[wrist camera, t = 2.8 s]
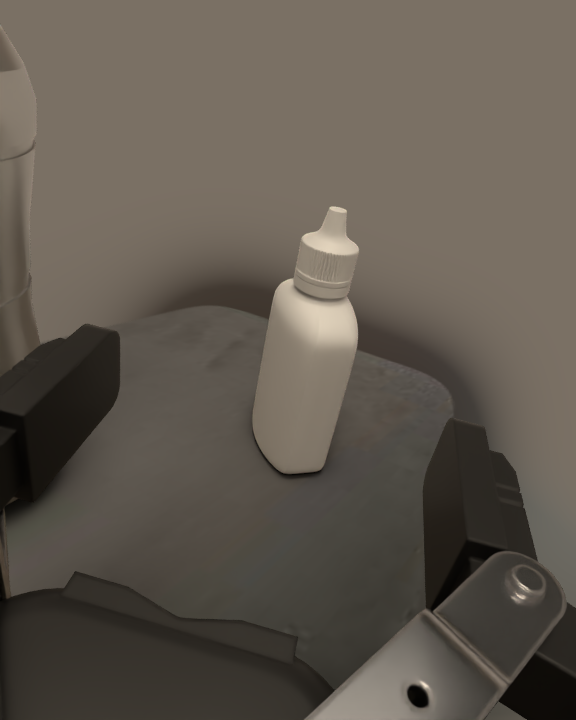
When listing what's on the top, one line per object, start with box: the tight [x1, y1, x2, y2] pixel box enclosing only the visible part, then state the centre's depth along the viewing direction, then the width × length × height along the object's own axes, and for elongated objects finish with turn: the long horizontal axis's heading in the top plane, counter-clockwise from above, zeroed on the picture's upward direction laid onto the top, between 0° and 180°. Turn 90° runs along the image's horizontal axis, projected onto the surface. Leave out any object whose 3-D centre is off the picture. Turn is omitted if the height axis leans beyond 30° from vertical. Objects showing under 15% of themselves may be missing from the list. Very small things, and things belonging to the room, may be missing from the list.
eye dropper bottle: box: [252, 207, 359, 474], centre depth 24 cm, size 4×6×12 cm
